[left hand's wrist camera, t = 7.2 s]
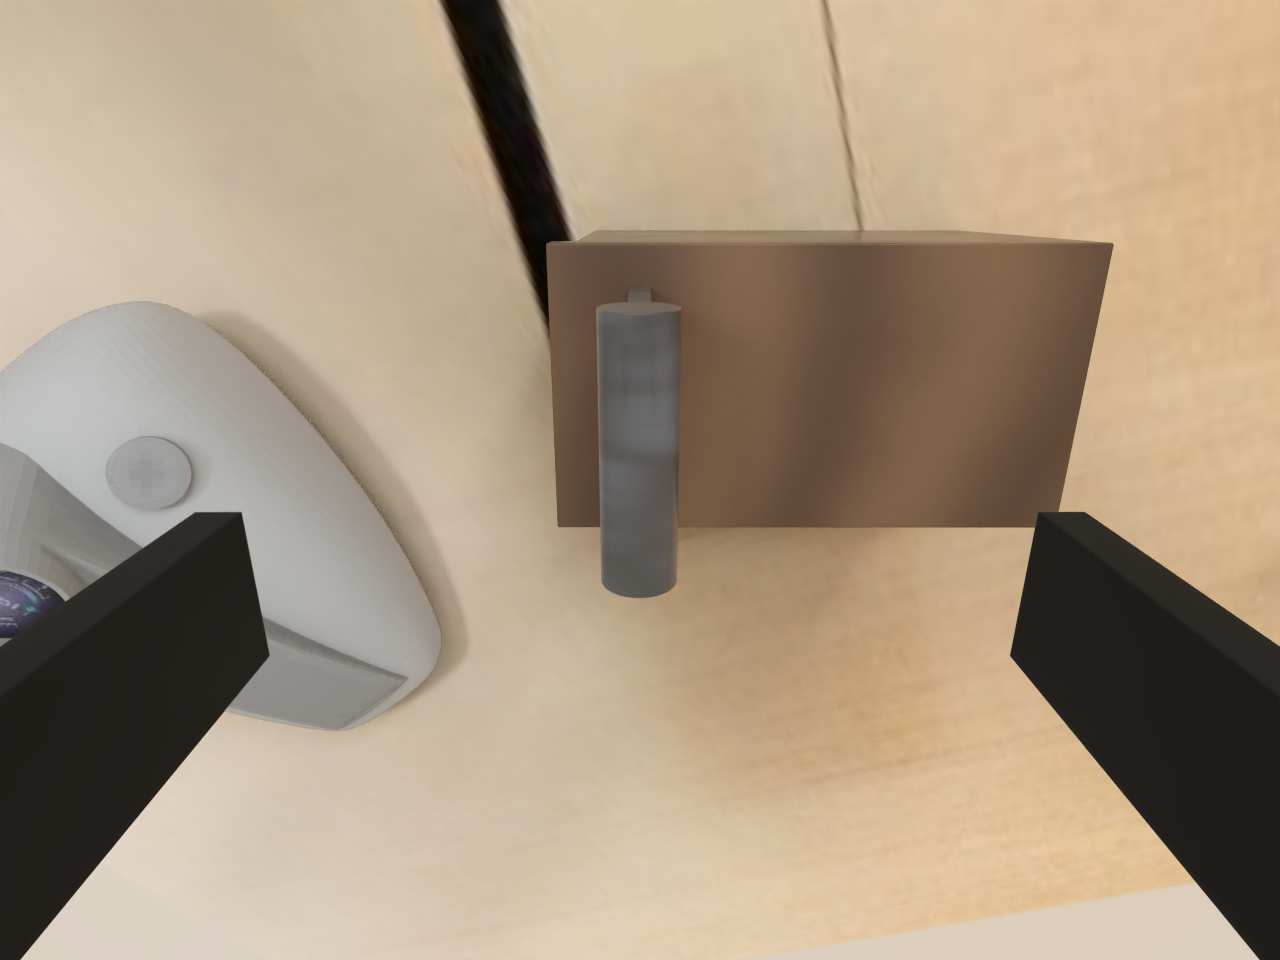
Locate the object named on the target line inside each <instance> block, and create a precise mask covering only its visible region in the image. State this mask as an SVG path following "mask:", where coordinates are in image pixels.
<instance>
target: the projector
mask: <svg viewBox="0 0 1280 960" xmlns="http://www.w3.org/2000/svg"><path fill="white" fill-rule="evenodd" d="M195 512H242V516H243V521H244V526H245V531H246V536H247V542H248V547H249V552H250V557H251V562H252V567H253V572H254V577H255V582H256V587H257V592H258V598H259V603H260V608H261V613H262V618H263V623H264V628H265V633H266V638H267V643H268V649H269V654H270V656H269V658H268V659H267V660H266V661H265V662H264V664H263V665H262V666H261V667H260V669H259V670H258V671H257V672H256V673H255V675H254V676H253V677H252V678H251V679H250V681H249V682H248V683H247V684H246V686H245V687H244V688H243V689H242V690H241V692H240V693H239V694H238V695H237V697H236V698H235V699H234V700H233V701H232V703H231V704H230V705H229V706H228V707H227V709H226V710H225V711H224V712H229V713H233V714H238V715H242V716H247V717H251V718H256V719H260V720H265V721H270V722H276V723H281V724H287V725H292V726H298V727H303V728H311V729H319V730H326V731H343V730H348V729H353V728H355V727H358V726H360V725H363V724H365V723H367V722H369V721H370V720H372V719H374V718H376V717H377V716H379V715H381V714H382V713H383V712H385V711H386V710H388V709H389V708H391V707H392V706H394V705H395V704H396V703H398V702H399V701H400V700H402V699H403V698H404V697H406V696H407V695H408V694H410V693H411V692H412V691H413V690H414V689H416V688H417V687H418V686H419V685H420V684H421V683H422V682H423V681H424V680H425V679H426V678H427V677H428V676H429V675H430V673H431V672H432V671H433V669H434V667H435V665H436V663H437V661H438V658H439V654H440V650H441V632H440V628H439V624H438V621H437V619H436V616H435V614H434V611H433V608H432V606H431V604H430V602H429V600H428V597H427V595H426V593H425V591H424V589H423V587H422V585H421V583H420V581H419V579H418V577H417V576H416V574H415V572H414V570H413V568H412V566H411V564H410V562H409V560H408V559H407V557H406V555H405V554H404V552H403V550H402V549H401V547H400V545H399V544H398V542H397V540H396V538H395V537H394V535H393V533H392V532H391V530H390V529H389V527H388V526H387V524H386V522H385V521H384V519H383V518H382V516H381V515H380V513H379V512H378V510H377V509H376V507H375V506H374V504H373V503H372V502H371V500H370V499H369V497H368V496H367V494H366V493H365V492H364V490H363V489H362V487H361V486H360V485H359V483H358V482H357V481H356V479H355V478H354V477H353V476H352V474H351V473H350V472H349V470H348V469H347V468H346V466H345V465H344V464H343V463H342V461H341V460H340V459H339V457H338V456H337V455H336V454H335V452H334V451H333V450H332V449H331V448H330V446H329V445H328V444H327V443H326V442H325V440H324V439H323V438H322V437H321V436H320V434H319V433H318V432H317V431H316V430H315V428H314V427H313V426H312V425H311V424H310V423H309V422H308V421H307V419H306V418H305V417H304V416H303V415H302V414H301V413H300V412H299V410H298V409H297V408H296V407H295V406H294V405H293V404H292V403H291V402H290V401H289V399H288V398H287V397H286V396H285V395H284V394H283V393H282V392H281V391H280V390H279V389H278V388H277V387H276V386H275V385H274V384H273V383H272V382H271V380H270V379H269V378H268V377H267V376H266V375H265V374H264V373H262V372H261V371H260V370H259V369H258V368H257V367H256V366H255V365H254V364H253V363H252V362H251V361H250V360H249V359H248V358H247V357H246V356H245V355H244V354H243V353H241V352H240V351H239V350H238V349H237V348H236V347H235V346H233V345H232V344H231V343H230V342H229V341H228V340H227V339H225V338H224V337H223V336H221V335H220V334H219V333H217V332H216V331H215V330H213V329H212V328H211V327H209V326H208V325H207V324H205V323H203V322H202V321H200V320H198V319H197V318H195V317H194V316H192V315H190V314H188V313H186V312H184V311H181V310H179V309H177V308H174V307H171V306H168V305H164V304H159V303H154V302H146V301H137V302H126V303H120V304H115V305H111V306H107V307H103V308H100V309H97V310H94V311H91V312H88V313H86V314H84V315H81V316H79V317H77V318H74V319H72V320H71V321H69V322H67V323H65V324H63V325H61V326H60V327H58V328H57V329H55V330H54V331H52V332H50V333H49V334H47V335H46V336H45V337H43V338H42V339H41V340H39V341H38V342H37V343H35V344H34V345H33V346H31V347H30V348H29V349H27V350H26V351H25V352H24V353H23V354H21V355H20V356H19V357H18V358H16V359H15V360H14V361H13V362H12V363H10V364H9V365H8V366H7V367H6V368H5V369H4V370H3V371H1V372H0V646H2V645H3V644H5V643H6V642H8V641H9V640H10V639H12V638H13V637H15V636H16V635H18V634H19V633H21V632H22V631H23V630H25V629H26V628H28V627H29V626H31V625H32V624H34V623H35V622H37V621H38V620H39V619H41V618H42V617H44V616H45V615H47V614H48V613H50V612H51V611H52V610H54V609H55V608H57V607H58V606H60V605H61V604H63V603H64V602H66V601H67V600H68V599H70V598H71V597H73V596H74V595H76V594H77V593H79V592H80V591H81V590H83V589H84V588H86V587H87V586H89V585H90V584H92V583H93V582H95V581H96V580H97V579H99V578H100V577H102V576H103V575H105V574H106V573H108V572H109V571H110V570H112V569H113V568H115V567H116V566H118V565H119V564H121V563H122V562H124V561H125V560H126V559H128V558H129V557H131V556H132V555H134V554H135V553H137V552H138V551H139V550H141V549H142V548H144V547H145V546H147V545H148V544H150V543H151V542H153V541H154V540H155V539H157V538H158V537H160V536H161V535H163V534H164V533H166V532H167V531H168V530H170V529H171V528H173V527H174V526H176V525H177V524H179V523H180V522H181V521H183V520H184V519H186V518H187V517H189V516H190V515H192V514H193V513H195Z"/></svg>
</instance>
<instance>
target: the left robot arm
mask: <svg viewBox="0 0 1280 960" xmlns="http://www.w3.org/2000/svg"><path fill="white" fill-rule="evenodd" d="M269 656H270V654H269V649H268V643H267V638H266V633H265V628H264V623H263V618H262V613H261V608H260V603H259V598H258V592H257V587H256V582H255V577H254V572H253V567H252V562H251V557H250V552H249V547H248V542H247V536H246V531H245V526H244V521H243V516H242V512H195V513H193V514H192V515H190V516H189V517H187V518H186V519H184V520H183V521H181V522H180V523H179V524H177V525H176V526H174V527H173V528H171V529H170V530H168V531H167V532H166V533H164V534H163V535H161V536H160V537H158V538H157V539H155V540H154V541H153V542H151V543H150V544H148V545H147V546H145V547H144V548H142V549H141V550H139V551H138V552H137V553H135V554H134V555H132V556H131V557H129V558H128V559H126V560H125V561H124V562H122V563H121V564H119V565H118V566H116V567H115V568H113V569H112V570H110V571H109V572H108V573H106V574H105V575H103V576H102V577H100V578H99V579H97V580H96V581H95V582H93V583H92V584H90V585H89V586H87V587H86V588H84V589H83V590H81V591H80V592H79V593H77V594H76V595H74V596H73V597H71V598H70V599H68V600H67V601H66V602H64V603H63V604H61V605H60V606H58V607H57V608H55V609H54V610H52V611H51V612H50V613H48V614H47V615H45V616H44V617H42V618H41V619H39V620H38V621H37V622H35V623H34V624H32V625H31V626H29V627H28V628H26V629H25V630H23V631H22V632H21V633H19V634H18V635H16V636H15V637H13V638H12V639H10V640H9V641H8V642H6V643H5V644H3V645H2V646H0V960H20V959H21V958H22V957H23V956H24V955H25V953H26V952H27V951H28V950H29V948H30V947H31V946H32V945H33V944H34V942H35V941H36V940H37V939H38V938H39V936H40V935H41V934H42V933H43V931H44V930H45V929H46V928H47V927H48V925H49V924H50V923H51V922H52V921H53V919H54V918H55V917H56V916H57V914H58V913H59V912H60V911H61V910H62V908H63V907H64V906H65V905H66V903H67V902H68V901H69V900H70V899H71V897H72V896H73V895H74V894H75V893H76V891H77V890H78V889H79V888H80V886H81V885H82V884H83V883H84V882H85V880H86V879H87V878H88V877H89V875H90V874H91V873H92V872H93V871H94V869H95V868H96V867H97V866H98V865H99V863H100V862H101V861H102V860H103V858H104V857H105V856H106V855H107V854H108V852H109V851H110V850H111V849H112V847H113V846H114V845H115V844H116V843H117V841H118V840H119V839H120V838H121V837H122V835H123V834H124V833H125V832H126V830H127V829H128V828H129V827H130V826H131V824H132V823H133V822H134V821H135V819H136V818H137V817H138V816H139V815H140V813H141V812H142V811H143V810H144V809H145V807H146V806H147V805H148V804H149V802H150V801H151V800H152V799H153V798H154V796H155V795H156V794H157V793H158V791H159V790H160V789H161V788H162V787H163V785H164V784H165V783H166V782H167V781H168V779H169V778H170V777H171V776H172V774H173V773H174V772H175V771H176V770H177V768H178V767H179V766H180V765H181V763H182V762H183V761H184V760H185V759H186V757H187V756H188V755H189V754H190V753H191V751H192V750H193V749H194V748H195V746H196V745H197V744H198V743H199V742H200V740H201V739H202V738H203V737H204V735H205V734H206V733H207V732H208V731H209V729H210V728H211V727H212V726H213V725H214V723H215V722H216V721H217V720H218V718H219V717H220V716H221V715H222V714H223V712H224V711H225V710H226V709H227V707H228V706H229V705H230V704H231V703H232V701H233V700H234V699H235V698H236V697H237V695H238V694H239V693H240V692H241V690H242V689H243V688H244V687H245V686H246V684H247V683H248V682H249V681H250V679H251V678H252V677H253V676H254V675H255V673H256V672H257V671H258V670H259V669H260V667H261V666H262V665H263V664H264V662H265V661H266V660H267V659H268V658H269ZM1010 656H1011V658H1012V659H1013V660H1014V661H1015V662H1016V664H1017V665H1018V666H1019V667H1020V669H1021V670H1022V671H1023V672H1024V673H1025V675H1026V676H1027V677H1028V678H1029V679H1030V681H1031V682H1032V683H1033V684H1034V686H1035V687H1036V688H1037V689H1038V690H1039V692H1040V693H1041V694H1042V695H1043V697H1044V698H1045V699H1046V700H1047V701H1048V703H1049V704H1050V705H1051V706H1052V707H1053V709H1054V710H1055V711H1056V712H1057V714H1058V715H1059V716H1060V717H1061V718H1062V720H1063V721H1064V722H1065V723H1066V725H1067V726H1068V727H1069V728H1070V729H1071V731H1072V732H1073V733H1074V734H1075V735H1076V737H1077V738H1078V739H1079V740H1080V742H1081V743H1082V744H1083V745H1084V746H1085V748H1086V749H1087V750H1088V751H1089V753H1090V754H1091V755H1092V756H1093V757H1094V759H1095V760H1096V761H1097V762H1098V763H1099V765H1100V766H1101V767H1102V768H1103V770H1104V771H1105V772H1106V773H1107V774H1108V776H1109V777H1110V778H1111V779H1112V781H1113V782H1114V783H1115V784H1116V785H1117V787H1118V788H1119V789H1120V790H1121V791H1122V793H1123V794H1124V795H1125V796H1126V798H1127V799H1128V800H1129V801H1130V802H1131V804H1132V805H1133V806H1134V807H1135V809H1136V810H1137V811H1138V812H1139V813H1140V815H1141V816H1142V817H1143V818H1144V819H1145V821H1146V822H1147V823H1148V824H1149V826H1150V827H1151V828H1152V829H1153V830H1154V832H1155V833H1156V834H1157V835H1158V837H1159V838H1160V839H1161V840H1162V841H1163V843H1164V844H1165V845H1166V846H1167V847H1168V849H1169V850H1170V851H1171V852H1172V854H1173V855H1174V856H1175V857H1176V858H1177V860H1178V861H1179V862H1180V863H1181V865H1182V866H1183V867H1184V868H1185V869H1186V871H1187V872H1188V873H1189V874H1190V875H1191V877H1192V878H1193V879H1194V880H1195V882H1196V883H1197V884H1198V885H1199V886H1200V888H1201V889H1202V890H1203V891H1204V893H1205V894H1206V895H1207V896H1208V897H1209V899H1210V900H1211V901H1212V902H1213V903H1214V905H1215V906H1216V907H1217V908H1218V910H1219V911H1220V912H1221V913H1222V914H1223V916H1224V917H1225V918H1226V919H1227V920H1228V922H1229V923H1230V924H1231V925H1232V927H1233V928H1234V929H1235V930H1236V931H1237V933H1238V934H1239V935H1240V936H1241V938H1242V939H1243V940H1244V941H1245V942H1246V944H1247V945H1248V946H1249V947H1250V949H1251V950H1252V951H1253V952H1254V953H1255V955H1256V956H1257V957H1258V958H1259V959H1260V960H1280V646H1278V645H1277V644H1275V643H1274V642H1272V641H1271V640H1270V639H1268V638H1267V637H1265V636H1264V635H1262V634H1261V633H1259V632H1258V631H1257V630H1255V629H1254V628H1252V627H1251V626H1249V625H1248V624H1246V623H1245V622H1243V621H1242V620H1241V619H1239V618H1238V617H1236V616H1235V615H1233V614H1232V613H1230V612H1229V611H1228V610H1226V609H1225V608H1223V607H1222V606H1220V605H1219V604H1217V603H1216V602H1214V601H1213V600H1212V599H1210V598H1209V597H1207V596H1206V595H1204V594H1203V593H1201V592H1200V591H1199V590H1197V589H1196V588H1194V587H1193V586H1191V585H1190V584H1188V583H1187V582H1185V581H1184V580H1183V579H1181V578H1180V577H1178V576H1177V575H1175V574H1174V573H1172V572H1171V571H1170V570H1168V569H1167V568H1165V567H1164V566H1162V565H1161V564H1159V563H1158V562H1156V561H1155V560H1154V559H1152V558H1151V557H1149V556H1148V555H1146V554H1145V553H1143V552H1142V551H1141V550H1139V549H1138V548H1136V547H1135V546H1133V545H1132V544H1130V543H1129V542H1127V541H1126V540H1125V539H1123V538H1122V537H1120V536H1119V535H1117V534H1116V533H1114V532H1113V531H1112V530H1110V529H1109V528H1107V527H1106V526H1104V525H1103V524H1101V523H1100V522H1098V521H1097V520H1096V519H1094V518H1093V517H1091V516H1090V515H1088V514H1087V513H1085V512H1038V516H1037V521H1036V526H1035V531H1034V536H1033V542H1032V547H1031V552H1030V557H1029V562H1028V567H1027V572H1026V577H1025V582H1024V587H1023V592H1022V598H1021V603H1020V608H1019V613H1018V618H1017V623H1016V628H1015V633H1014V638H1013V643H1012V649H1011V654H1010Z"/></svg>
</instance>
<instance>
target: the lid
mask: <svg viewBox="0 0 1280 960" xmlns="http://www.w3.org/2000/svg"><path fill="white" fill-rule="evenodd" d="M546 248H547V273H548V298H549V322H550V347H551V371H552V396H553V421H554V445H555V470H556V495H557V519H558V527H600V533H601V581H602V584H603V585H604V587H605V588H606V589H607V590H609V591H610V592H612V593H615V594H617V595H620V596H625V597H632V598H647V597H654V596H658V595H661V594H664V593H666V592H668V591H670V590H671V589H672V588H673V587H674V586H675V584H676V582H677V548H678V527H1035V526H1036V521H1037V516H1038V512H1058V511H1059V506H1060V502H1061V497H1062V492H1063V487H1064V482H1065V477H1066V473H1067V468H1068V463H1069V458H1070V453H1071V448H1072V444H1073V439H1074V434H1075V429H1076V424H1077V419H1078V414H1079V410H1080V405H1081V400H1082V395H1083V390H1084V385H1085V381H1086V376H1087V371H1088V366H1089V361H1090V356H1091V352H1092V347H1093V342H1094V337H1095V332H1096V327H1097V322H1098V318H1099V313H1100V308H1101V303H1102V298H1103V293H1104V289H1105V284H1106V279H1107V274H1108V269H1109V264H1110V259H1111V255H1112V250H1113V243H1105V242H1093V241H552V242H549V243H547V245H546Z"/></svg>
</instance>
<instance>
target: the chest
mask: <svg viewBox="0 0 1280 960" xmlns="http://www.w3.org/2000/svg"><path fill="white" fill-rule="evenodd" d="M578 241H1080V240H1068V239H1055V238H1043V237H1030V236H1018V235H1006V234H993V233H981V232H968V231H595V232H593V233H591V234H589V235H587V236H586V237H584V238H582V239H580V240H578Z"/></svg>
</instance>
